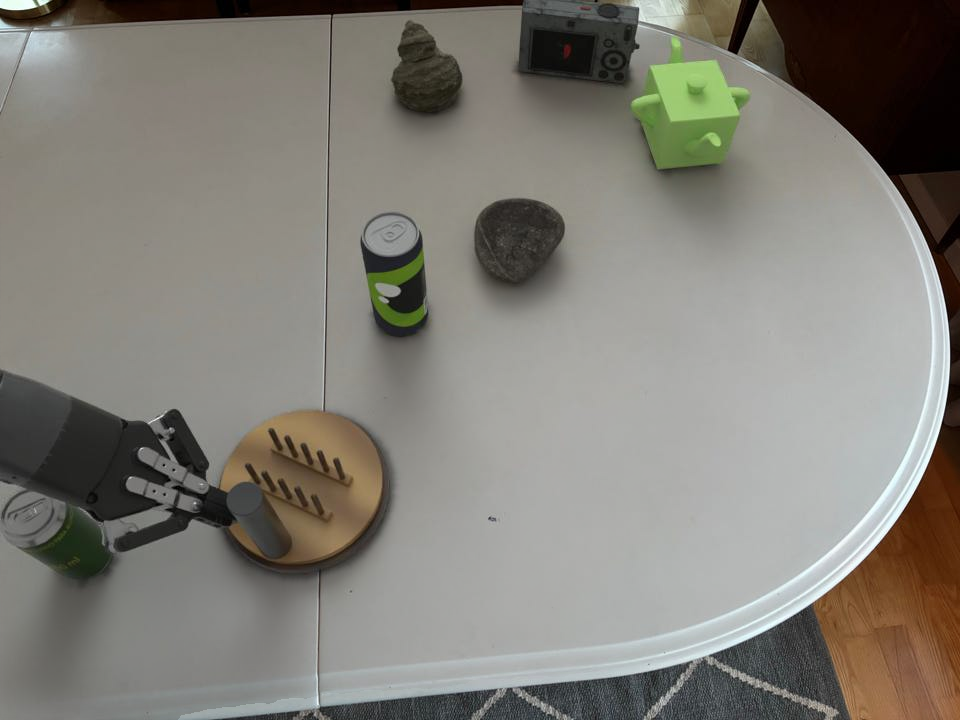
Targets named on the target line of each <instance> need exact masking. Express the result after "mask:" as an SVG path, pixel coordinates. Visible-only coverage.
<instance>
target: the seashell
mask: <svg viewBox="0 0 960 720" xmlns="http://www.w3.org/2000/svg"><path fill="white" fill-rule="evenodd" d="M396 49H397V53H398V57H399V58H400V61H399V63H398V65H396V67H395V68H394V69H393V71H392V76H391V77H390V81H391V83H392V86H393V88H394V93H395V94H396V95H397V97H398V99H399V100H400V101H401V102H402V104H404V105H405V106H406V107H407V108H410V109H412V110H414V111H421V112H424V113H426V112H430V113H431V112H437V111H439V110H442V109H443V108H446V107H448V106H449V105H450V104H452V103H453V102H454V101H455V99H456V96H457V95H458V92H459V90H460V88H462V85H463V74H462V71H461V67H460V65H459V63H458V60H457V59H456V57H454V56H453V54H450V53H446V52H443V51H442V50H441V49H440V48H439V47H438V46H437V41H436V40H435V37H434V36H433V35H432V34H431V33H429V31H428V30H427V29H426V28H425V26H424V25H423V24H421V23H419V22H415V21H413V20H411V19H408V20H406V22H405V24H404V29H403V31H402V32H401V36H400V42H399V44H398V46H397V48H396ZM454 114H455V112H454Z"/></svg>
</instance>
